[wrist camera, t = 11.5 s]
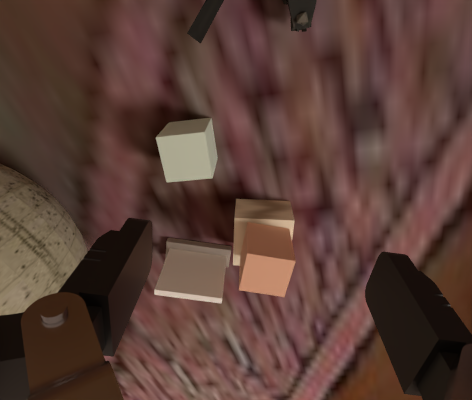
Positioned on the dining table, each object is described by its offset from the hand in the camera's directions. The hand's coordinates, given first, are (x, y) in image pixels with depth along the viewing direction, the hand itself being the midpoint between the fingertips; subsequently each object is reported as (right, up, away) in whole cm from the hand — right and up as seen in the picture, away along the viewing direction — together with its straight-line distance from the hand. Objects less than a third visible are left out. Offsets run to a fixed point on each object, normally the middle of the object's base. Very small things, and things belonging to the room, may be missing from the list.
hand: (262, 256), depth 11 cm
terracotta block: (+3, -3, +28) cm, 28 cm away
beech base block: (+3, -1, +32) cm, 32 cm away
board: (-6, -5, +34) cm, 35 cm away
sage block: (-6, +9, +27) cm, 29 cm away
